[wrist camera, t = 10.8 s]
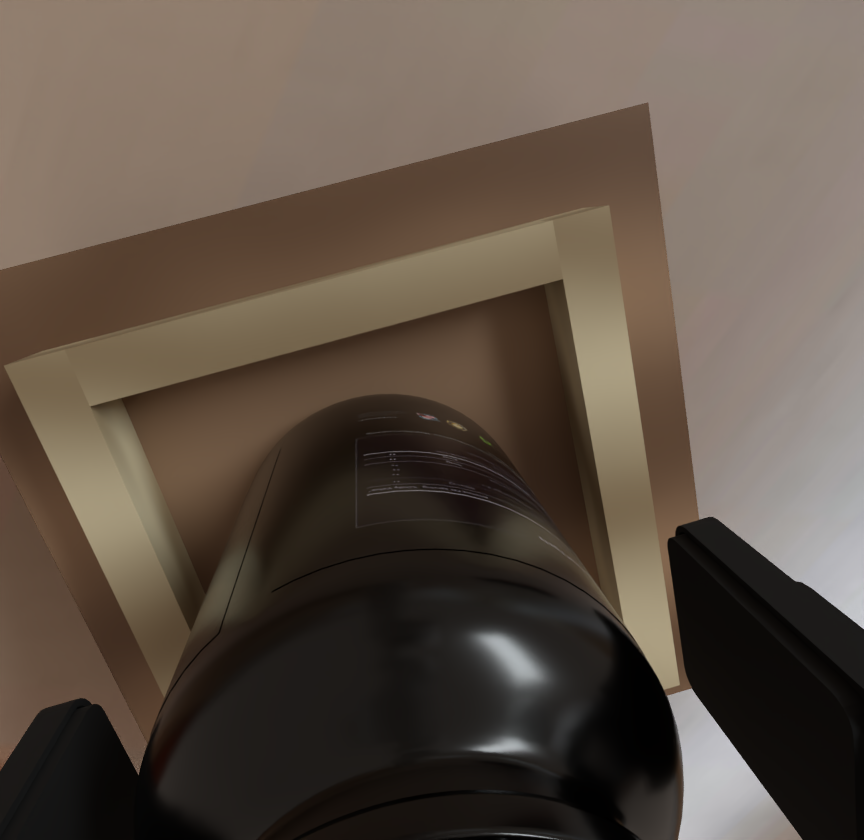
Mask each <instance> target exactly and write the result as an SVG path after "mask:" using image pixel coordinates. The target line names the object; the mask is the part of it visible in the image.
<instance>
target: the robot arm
mask: <svg viewBox="0 0 864 840" xmlns="http://www.w3.org/2000/svg"><path fill="white" fill-rule="evenodd" d="M667 548H668V555H669V562H670V569H671V576H672V583H673V590H674V597H675V604H676V611H677V619H678V626H679V633H680V640H681V647H682V654H683V661H684V668H685V672H686V676H687V678H688V681H689V683H690V685H691V687H692V689H693V691H694V692H695V694H696V695H697V697H698V698H699V699H700V701H701V702H702V703H703V705H704V706H705V707H706V709H707V710H708V711H709V713H710V714H711V716H712V717H713V718H714V720H715V721H716V722H717V724H718V725H719V726H720V728H721V729H722V731H723V732H724V733H725V735H726V736H727V737H728V739H729V740H730V741H731V743H732V744H733V745H734V747H735V748H736V750H737V751H738V752H739V754H740V755H741V756H742V758H743V759H744V760H745V762H746V763H747V764H748V766H749V767H750V769H751V770H752V771H753V773H754V774H755V775H756V777H757V778H758V779H759V781H760V782H761V784H762V785H763V786H764V788H765V789H766V790H767V792H768V793H769V794H770V796H771V797H772V798H773V800H774V801H775V803H776V804H777V805H778V807H779V808H780V809H781V811H782V812H783V813H784V815H785V816H786V817H787V819H788V820H789V822H790V823H791V824H792V826H793V827H794V828H795V830H796V831H797V832H798V834H799V835H800V837H801V838H802V839H803V840H864V629H863V628H861V627H860V626H859V625H858V624H856V623H855V622H854V621H852V620H851V619H850V618H849V617H847V616H846V615H845V614H843V613H842V612H841V611H840V610H838V609H837V608H836V607H835V606H833V605H832V604H831V603H829V602H828V601H827V600H826V599H824V598H823V597H822V596H821V595H819V594H818V593H817V592H815V591H814V590H813V589H812V588H810V587H808V586H807V585H805V584H803V583H802V582H796V581H794V580H793V579H791V578H790V577H789V576H788V575H786V574H785V573H784V572H783V571H781V570H780V569H779V568H778V567H776V566H775V565H774V564H773V563H771V562H770V561H769V560H768V559H766V558H765V557H764V556H763V555H761V554H760V553H759V552H758V551H756V550H755V549H754V548H753V547H751V546H750V545H749V544H747V543H746V542H745V541H744V540H742V539H741V538H740V537H739V536H737V535H736V534H735V533H734V532H732V531H731V530H730V529H729V528H727V527H726V526H725V525H724V524H722V523H721V522H720V521H719V520H717V519H716V518H714V517H707V518H704V519H700V520H697V521H694V522H690V523H687V524H683V525H680V526H678V527H677V528H676V531H675V537H671V538H669V539H668V542H667ZM138 776H139V775H138V774H137V772H136V770H135V768H134V766H133V764H132V762H131V760H130V759H129V757H128V755H127V753H126V751H125V749H124V747H123V745H122V743H121V742H120V740H119V738H118V736H117V734H116V732H115V730H114V728H113V727H112V725H111V723H110V721H109V719H108V717H107V715H106V713H105V711H104V710H103V708H102V707H101V706H99V705H98V704H93V705H92V704H91V703H90V702H89V701H88V700H86V699H83V698H79V699H76V700H72V701H69V702H65V703H62V704H59V705H55V706H52V707H48V708H45V709H43V710H41V711H40V712H39V713H38V715H37V716H36V717H35V719H34V720H33V722H32V723H31V725H30V726H29V728H28V729H27V731H26V732H25V734H24V735H23V737H22V739H21V740H20V742H19V743H18V745H17V746H16V748H15V749H14V751H13V752H12V754H11V755H10V757H9V758H8V760H7V761H6V763H5V765H4V766H3V768H2V769H1V771H0V840H134V825H133V813H134V803H135V794H136V785H137V780H138Z"/></svg>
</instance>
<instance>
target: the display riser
mask: <svg viewBox="0 0 864 840" xmlns="http://www.w3.org/2000/svg"><path fill="white" fill-rule="evenodd" d="M375 394H402V395H411V396H417V397H422V398H426V399H429V400H433V401H436V402H439V403H441V404H444V405H446V406H449V407H451V408H453V409H455V410H457V411H459V412H461V413H462V414H464V415H465V416H467V417H468V418H470V419H472V420H473V421H474V422H475V423H477V424H478V425H479V426H480V427H482V428H483V429H484V430H485V431H486V432H487V433H488V434H489V435H490V436H491V437H492V438H493V439H494V440H495V441H496V442H497V444H498V445H499V446H500V447H501V449H502V450H503V451H504V452H505V454H506V455H507V456H508V458H509V459H510V460H511V462H512V463H513V464H514V466H515V467H516V469H517V470H518V471H519V473H520V474H521V476H522V477H523V479H524V480H525V482H526V483H527V484H528V486H529V487H530V489H531V490H532V492H533V493H534V494H535V496H536V497H537V499H538V500H539V502H540V503H541V505H542V506H543V507H544V509H545V510H546V512H547V513H548V515H549V516H550V518H551V519H552V520H553V522H554V523H555V525H556V526H557V528H558V529H559V530H560V532H561V533H562V535H563V536H564V538H565V539H566V541H567V542H568V543H569V545H570V546H571V548H572V549H573V551H574V552H575V554H576V555H577V556H578V558H579V559H580V561H581V562H582V564H583V565H584V567H585V568H586V569H587V571H588V572H589V574H590V575H591V577H592V578H593V579H594V581H595V582H596V584H597V585H598V587H599V588H600V590H601V591H602V592H603V594H604V595H605V597H606V598H607V600H608V601H609V603H610V604H611V605H612V607H613V608H614V610H615V611H616V613H617V614H618V616H619V617H620V618H621V620H622V621H623V623H624V624H625V626H626V627H627V629H628V630H629V632H630V633H631V635H632V636H633V638H634V639H635V641H636V642H637V644H638V645H639V647H640V648H641V650H642V652H643V653H644V655H645V657H646V659H647V660H648V662H649V663H650V665H651V666H652V668H653V670H654V672H655V673H656V675H657V677H658V679H659V681H660V683H661V685H662V687H663V689H664V691H665V693H666V695H671V694H674V693H677V692H681V691H684V690H687V689H691V688H692V687H691V685H690V683H689V681H688V678H687V676H686V672H685V668H684V661H683V654H682V647H681V640H680V633H679V626H678V619H677V611H676V604H675V597H674V590H673V583H672V576H671V569H670V562H669V555H668V548H667V542H668V539H669V538H671V537H675V531H676V528H677V527H678V526H680V525H683V524H687V523H690V522H694V521H697V520H699V515H698V507H697V499H696V491H695V482H694V474H693V466H692V458H691V450H690V441H689V433H688V425H687V417H686V409H685V401H684V392H683V384H682V376H681V368H680V360H679V351H678V343H677V335H676V327H675V319H674V310H673V302H672V294H671V286H670V278H669V270H668V261H667V253H666V245H665V237H664V229H663V220H662V212H661V204H660V196H659V188H658V179H657V171H656V163H655V155H654V147H653V138H652V130H651V122H650V114H649V106H648V103H644V104H641V105H637V106H633V107H629V108H625V109H621V110H617V111H613V112H610V113H606V114H602V115H598V116H594V117H590V118H586V119H583V120H579V121H575V122H571V123H567V124H563V125H559V126H555V127H552V128H548V129H544V130H540V131H536V132H532V133H528V134H525V135H521V136H517V137H513V138H509V139H505V140H501V141H498V142H494V143H490V144H486V145H482V146H478V147H474V148H470V149H467V150H463V151H459V152H455V153H451V154H447V155H443V156H440V157H436V158H432V159H428V160H424V161H420V162H416V163H412V164H409V165H405V166H401V167H397V168H393V169H389V170H385V171H382V172H378V173H374V174H370V175H366V176H362V177H358V178H354V179H351V180H347V181H343V182H339V183H335V184H331V185H327V186H324V187H320V188H316V189H312V190H308V191H304V192H300V193H297V194H293V195H289V196H285V197H281V198H277V199H273V200H269V201H266V202H262V203H258V204H254V205H250V206H246V207H242V208H239V209H235V210H231V211H227V212H223V213H219V214H215V215H211V216H208V217H204V218H200V219H196V220H192V221H188V222H184V223H181V224H177V225H173V226H169V227H165V228H161V229H157V230H153V231H150V232H146V233H142V234H138V235H134V236H130V237H126V238H123V239H119V240H115V241H111V242H107V243H103V244H99V245H96V246H92V247H88V248H84V249H80V250H76V251H72V252H68V253H65V254H61V255H57V256H53V257H49V258H45V259H41V260H38V261H34V262H30V263H26V264H22V265H18V266H14V267H10V268H7V269H3V270H0V455H1V457H2V459H3V461H4V463H5V465H6V467H7V469H8V471H9V473H10V475H11V476H12V478H13V480H14V482H15V484H16V486H17V488H18V490H19V492H20V494H21V496H22V498H23V500H24V502H25V504H26V506H27V508H28V510H29V512H30V514H31V516H32V518H33V520H34V522H35V524H36V526H37V528H38V529H39V531H40V533H41V535H42V537H43V539H44V541H45V543H46V545H47V547H48V549H49V551H50V553H51V555H52V557H53V559H54V561H55V563H56V565H57V567H58V569H59V571H60V573H61V575H62V577H63V579H64V580H65V582H66V584H67V586H68V588H69V590H70V592H71V594H72V596H73V598H74V600H75V602H76V604H77V606H78V608H79V610H80V612H81V614H82V616H83V618H84V620H85V622H86V624H87V626H88V628H89V630H90V632H91V633H92V635H93V637H94V639H95V641H96V643H97V645H98V647H99V649H100V651H101V653H102V655H103V657H104V659H105V661H106V663H107V665H108V667H109V669H110V671H111V673H112V675H113V677H114V679H115V681H116V683H117V685H118V686H119V688H120V690H121V692H122V694H123V696H124V698H125V700H126V702H127V704H128V706H129V708H130V710H131V712H132V714H133V716H134V718H135V720H136V722H137V724H138V726H139V728H140V730H141V732H142V734H143V736H144V737H145V739H146V741H147V743H148V742H149V739H150V735H151V732H152V729H153V726H154V724H155V721H156V718H157V716H158V713H159V711H160V708H161V705H162V703H163V700H164V698H165V695H166V693H167V690H168V688H169V685H170V683H171V680H172V678H173V675H174V673H175V670H176V668H177V665H178V663H179V660H180V658H181V655H182V653H183V650H184V648H185V645H186V643H187V640H188V638H189V635H190V633H191V630H192V628H193V625H194V623H195V620H196V618H197V616H198V613H199V611H200V608H201V606H202V603H203V601H204V598H205V596H206V593H207V591H208V588H209V586H210V583H211V581H212V578H213V576H214V573H215V571H216V568H217V566H218V563H219V561H220V558H221V556H222V553H223V551H224V549H225V546H226V544H227V541H228V539H229V536H230V534H231V531H232V529H233V526H234V524H235V521H236V519H237V516H238V514H239V511H240V509H241V506H242V504H243V501H244V499H245V496H246V494H247V492H248V490H249V488H250V485H251V483H252V481H253V479H254V477H255V475H256V473H257V471H258V469H259V467H260V466H261V464H262V463H263V461H264V460H265V458H266V457H267V455H268V454H269V452H270V451H271V450H272V449H273V447H274V446H275V445H276V444H277V442H278V441H279V440H280V439H281V438H282V437H283V436H284V435H285V434H286V433H287V432H288V431H290V430H291V429H292V428H293V427H295V426H296V425H297V424H298V423H300V422H301V421H303V420H304V419H306V418H307V417H309V416H310V415H312V414H314V413H316V412H318V411H319V410H321V409H323V408H326V407H328V406H330V405H333V404H335V403H338V402H341V401H344V400H348V399H351V398H356V397H361V396H366V395H375Z"/></svg>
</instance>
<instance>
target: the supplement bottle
mask: <svg viewBox="0 0 864 840" xmlns="http://www.w3.org/2000/svg"><path fill="white" fill-rule="evenodd" d="M683 792H684V779H683V762H682V751H681V745H680V739H679V734H678V729H677V725H676V722H675V718H674V715H673V712H672V709H671V706H670V703H669V700H668V697H667V695H666V693H665V691H664V689H663V687H662V685H661V683H660V681H659V679H658V677H657V675H656V673H655V672H654V670H653V668H652V666H651V665H650V663H649V662H648V660H647V659H646V657H645V655H644V653H643V652H642V650H641V648H640V647H639V645H638V644H637V642H636V641H635V639H634V638H633V636H632V635H631V633H630V632H629V630H628V629H627V627H626V626H625V624H624V623H623V621H622V620H621V618H620V617H619V616H618V614H617V613H616V611H615V610H614V608H613V607H612V605H611V604H610V603H609V601H608V600H607V598H606V597H605V595H604V594H603V592H602V591H601V590H600V588H599V587H598V585H597V584H596V582H595V581H594V579H593V578H592V577H591V575H590V574H589V572H588V571H587V569H586V568H585V567H584V565H583V564H582V562H581V561H580V559H579V558H578V556H577V555H576V554H575V552H574V551H573V549H572V548H571V546H570V545H569V543H568V542H567V541H566V539H565V538H564V536H563V535H562V533H561V532H560V530H559V529H558V528H557V526H556V525H555V523H554V522H553V520H552V519H551V518H550V516H549V515H548V513H547V512H546V510H545V509H544V507H543V506H542V505H541V503H540V502H539V500H538V499H537V497H536V496H535V494H534V493H533V492H532V490H531V489H530V487H529V486H528V484H527V483H526V482H525V480H524V479H523V477H522V476H521V474H520V473H519V471H518V470H517V469H516V467H515V466H514V464H513V463H512V462H511V460H510V459H509V458H508V456H507V455H506V454H505V452H504V451H503V450H502V449H501V447H500V446H499V445H498V444H497V442H496V441H495V440H494V439H493V438H492V437H491V436H490V435H489V434H488V433H487V432H486V431H485V430H484V429H483V428H482V427H480V426H479V425H478V424H477V423H475V422H474V421H473V420H472V419H470V418H468V417H467V416H465V415H464V414H462V413H461V412H459V411H457V410H455V409H453V408H451V407H449V406H446V405H444V404H441V403H439V402H436V401H433V400H429V399H426V398H422V397H417V396H411V395H402V394H375V395H366V396H361V397H356V398H351V399H348V400H344V401H341V402H338V403H335V404H333V405H330V406H328V407H326V408H323V409H321V410H319V411H318V412H316V413H314V414H312V415H310V416H309V417H307V418H306V419H304V420H303V421H301V422H300V423H298V424H297V425H296V426H295V427H293V428H292V429H291V430H290V431H288V432H287V433H286V434H285V435H284V436H283V437H282V438H281V439H280V440H279V441H278V442H277V444H276V445H275V446H274V447H273V449H272V450H271V451H270V452H269V454H268V455H267V457H266V458H265V460H264V461H263V463H262V464H261V466H260V467H259V469H258V471H257V473H256V475H255V477H254V479H253V481H252V483H251V485H250V488H249V490H248V492H247V494H246V496H245V499H244V501H243V504H242V506H241V509H240V511H239V514H238V516H237V519H236V521H235V524H234V526H233V529H232V531H231V534H230V536H229V539H228V541H227V544H226V546H225V549H224V551H223V553H222V556H221V558H220V561H219V563H218V566H217V568H216V571H215V573H214V576H213V578H212V581H211V583H210V586H209V588H208V591H207V593H206V596H205V598H204V601H203V603H202V606H201V608H200V611H199V613H198V616H197V618H196V620H195V623H194V625H193V628H192V630H191V633H190V635H189V638H188V640H187V643H186V645H185V648H184V650H183V653H182V655H181V658H180V660H179V663H178V665H177V668H176V670H175V673H174V675H173V678H172V680H171V683H170V685H169V688H168V690H167V693H166V695H165V698H164V700H163V703H162V705H161V708H160V711H159V713H158V716H157V718H156V721H155V724H154V726H153V729H152V732H151V735H150V739H149V742H148V744H147V747H146V750H145V754H144V757H143V760H142V764H141V768H140V772H139V776H138V780H137V785H136V794H135V803H134V813H133V825H134V840H678V836H679V830H680V825H681V819H682V810H683Z"/></svg>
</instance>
